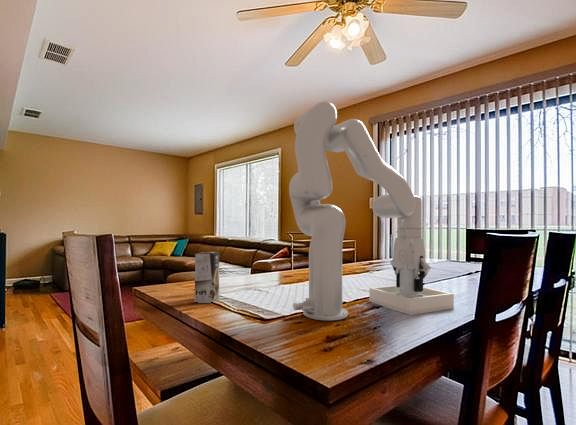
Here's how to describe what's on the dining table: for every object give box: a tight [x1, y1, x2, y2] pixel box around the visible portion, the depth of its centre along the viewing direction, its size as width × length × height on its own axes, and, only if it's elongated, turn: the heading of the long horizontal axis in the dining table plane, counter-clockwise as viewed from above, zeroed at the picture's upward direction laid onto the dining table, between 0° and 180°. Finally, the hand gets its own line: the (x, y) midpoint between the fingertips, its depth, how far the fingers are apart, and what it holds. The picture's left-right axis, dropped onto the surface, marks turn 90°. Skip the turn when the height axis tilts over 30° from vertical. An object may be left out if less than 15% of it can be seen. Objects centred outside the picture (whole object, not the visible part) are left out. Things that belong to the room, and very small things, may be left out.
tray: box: [368, 284, 455, 316], centre depth 108 cm, size 18×18×4 cm
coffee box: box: [193, 251, 220, 304], centre depth 114 cm, size 9×6×16 cm
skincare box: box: [400, 262, 419, 298], centre depth 108 cm, size 6×4×12 cm
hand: (409, 288), depth 108 cm, fingers closed on skincare box, 7 cm apart
